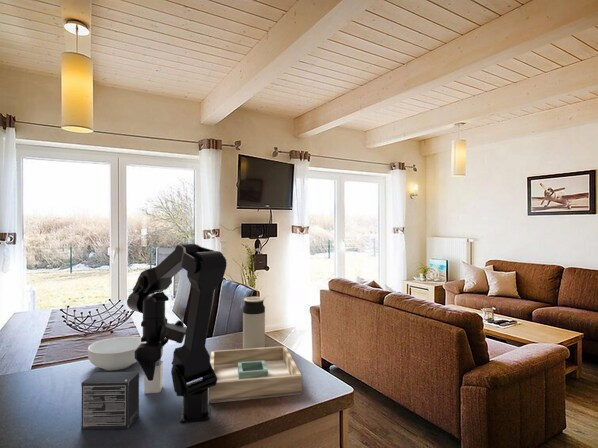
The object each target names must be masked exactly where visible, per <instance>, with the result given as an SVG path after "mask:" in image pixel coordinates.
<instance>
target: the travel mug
mask: <svg viewBox="0 0 598 448" xmlns="http://www.w3.org/2000/svg"><path fill="white" fill-rule="evenodd" d="M243 301H244V305H243V309H242V349H247V348H261V347H266V344H265V343H266V307H265V304H264V302H265V298H264V297H262V296H248V297H247V296H246V297H245V298H243Z"/></svg>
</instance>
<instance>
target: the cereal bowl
mask: <svg viewBox="0 0 598 448" xmlns="http://www.w3.org/2000/svg"><path fill="white" fill-rule="evenodd" d="M141 338H142V337H139V336H115V337H108V338H104V339H101V340H98V341H95V342H93V343H91V344H90V345H89V346H88V347H87V357H88V361H89V362H90V363H91V364H92V366H94V367H97V368H100V369H103V370H105V371H109V372H113V371H119V370H124V369H127V368H129V367H130V366H131V365H134V364H135V363H137V362H138V361H137V360H136V359H135V350H136V349H137V347H138V346H139V345H140V344H141V343H146V342H141Z"/></svg>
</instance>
